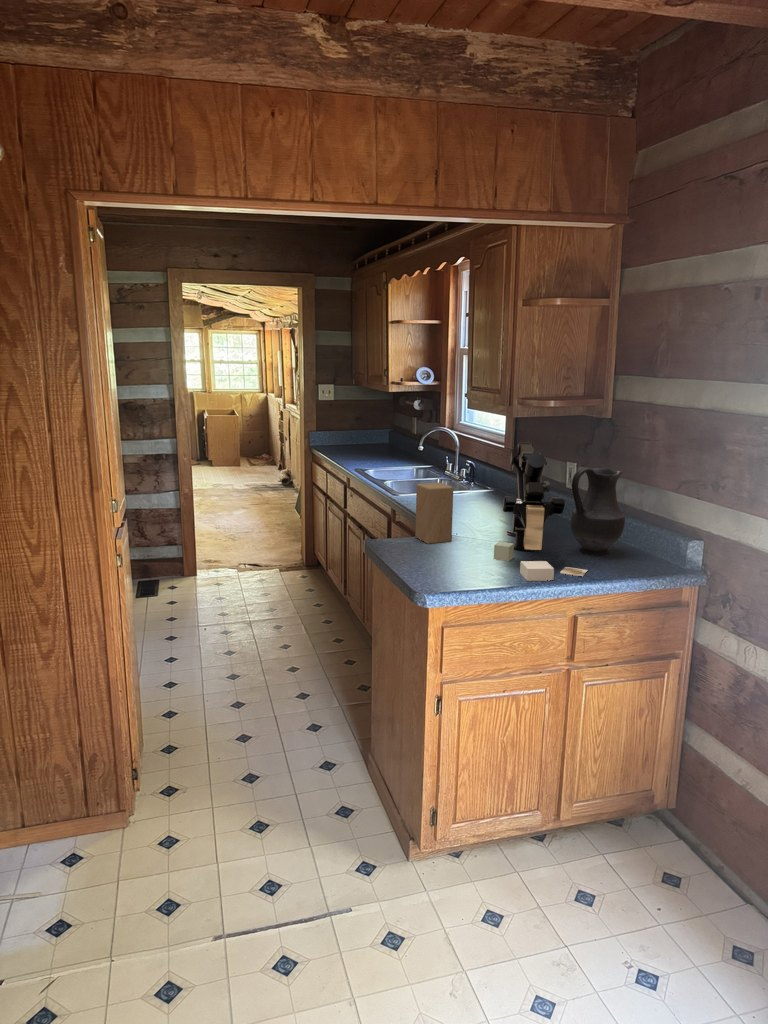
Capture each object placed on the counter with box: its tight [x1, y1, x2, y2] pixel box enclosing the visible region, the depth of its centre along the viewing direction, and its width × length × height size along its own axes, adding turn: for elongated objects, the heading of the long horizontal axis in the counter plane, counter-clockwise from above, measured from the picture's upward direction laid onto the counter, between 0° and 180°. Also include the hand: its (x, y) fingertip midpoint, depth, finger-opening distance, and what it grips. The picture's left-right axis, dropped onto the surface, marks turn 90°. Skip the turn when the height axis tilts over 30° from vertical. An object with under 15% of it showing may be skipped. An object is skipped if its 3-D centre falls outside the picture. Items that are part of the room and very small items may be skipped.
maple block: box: [524, 505, 544, 551], centre depth 223 cm, size 5×5×13 cm
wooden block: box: [414, 482, 454, 545], centre depth 257 cm, size 10×10×20 cm
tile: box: [559, 566, 588, 578], centre depth 222 cm, size 7×7×1 cm
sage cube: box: [493, 541, 515, 562], centre depth 235 cm, size 5×5×5 cm
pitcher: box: [570, 466, 626, 557], centre depth 240 cm, size 17×21×30 cm
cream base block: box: [519, 560, 555, 582], centre depth 217 cm, size 8×8×4 cm
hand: (534, 527), depth 222 cm, fingers closed on maple block, 5 cm apart
